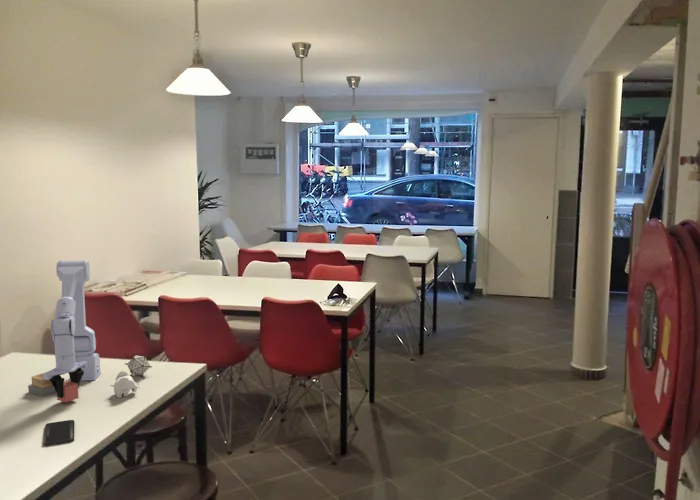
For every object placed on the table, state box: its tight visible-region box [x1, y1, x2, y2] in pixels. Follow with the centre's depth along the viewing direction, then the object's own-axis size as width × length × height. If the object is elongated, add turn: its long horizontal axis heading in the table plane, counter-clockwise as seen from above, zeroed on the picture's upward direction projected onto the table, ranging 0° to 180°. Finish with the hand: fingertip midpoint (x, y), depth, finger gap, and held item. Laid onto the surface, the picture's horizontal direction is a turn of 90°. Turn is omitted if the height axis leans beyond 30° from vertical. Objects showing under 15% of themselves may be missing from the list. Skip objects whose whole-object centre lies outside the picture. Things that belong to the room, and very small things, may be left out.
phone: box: [43, 419, 75, 447], centre depth 180 cm, size 8×1×15 cm
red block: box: [56, 380, 80, 403], centre depth 203 cm, size 5×5×5 cm
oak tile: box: [31, 371, 52, 388], centre depth 213 cm, size 6×6×3 cm
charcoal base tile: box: [27, 383, 57, 398], centre depth 214 cm, size 8×8×3 cm
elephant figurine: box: [109, 370, 141, 398], centre depth 210 cm, size 8×10×7 cm
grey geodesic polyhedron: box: [124, 353, 153, 378], centre depth 229 cm, size 9×8×10 cm
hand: (67, 394), depth 203 cm, fingers closed on red block, 5 cm apart
